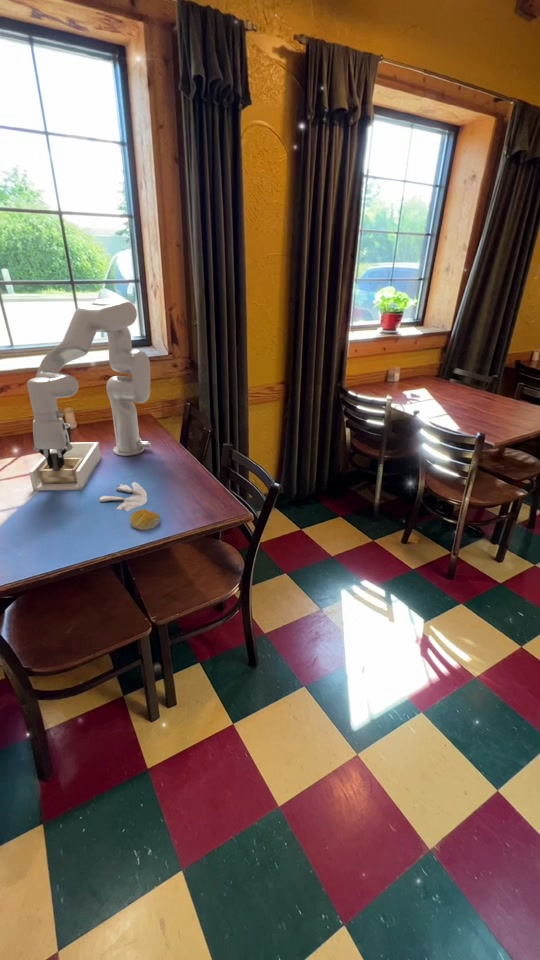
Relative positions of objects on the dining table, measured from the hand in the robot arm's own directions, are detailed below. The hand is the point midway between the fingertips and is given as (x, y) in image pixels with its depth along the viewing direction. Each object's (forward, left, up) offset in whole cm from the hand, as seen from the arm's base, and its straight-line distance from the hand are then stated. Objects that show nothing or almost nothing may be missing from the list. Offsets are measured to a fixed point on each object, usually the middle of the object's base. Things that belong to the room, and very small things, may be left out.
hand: (56, 466), depth 154 cm
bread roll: (-33, +27, -8) cm, 44 cm away
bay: (0, -11, -8) cm, 13 cm away
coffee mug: (+11, -37, -8) cm, 39 cm away
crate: (0, -5, -6) cm, 8 cm away
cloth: (-23, +8, -9) cm, 26 cm away
